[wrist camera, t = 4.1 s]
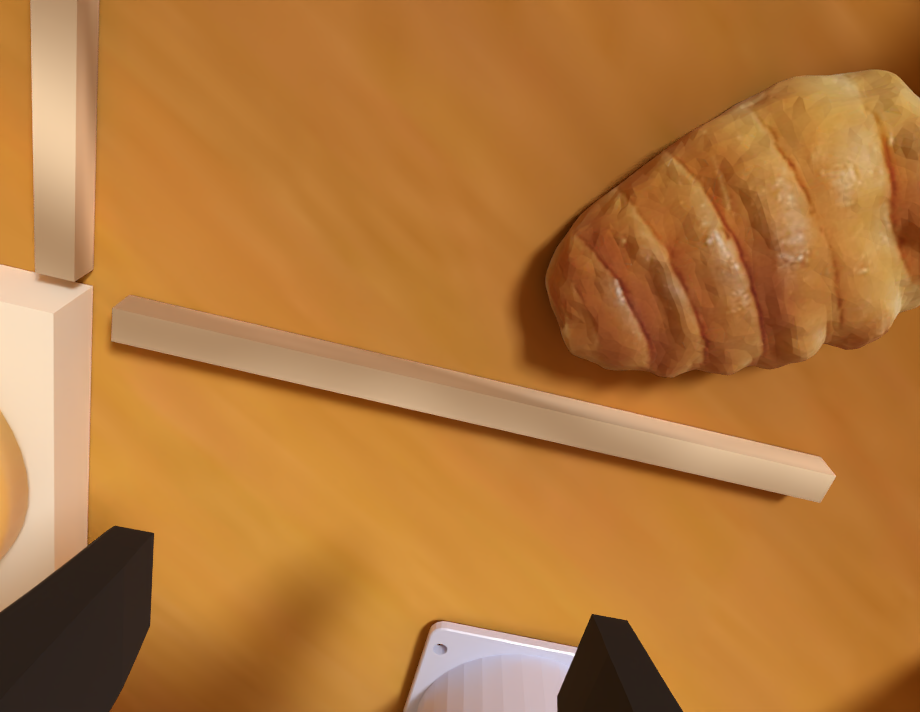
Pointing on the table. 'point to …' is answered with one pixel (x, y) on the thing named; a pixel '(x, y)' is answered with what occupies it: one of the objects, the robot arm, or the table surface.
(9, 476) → the dome
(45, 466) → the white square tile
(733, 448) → the lane
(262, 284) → the table surface
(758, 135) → the pastry
